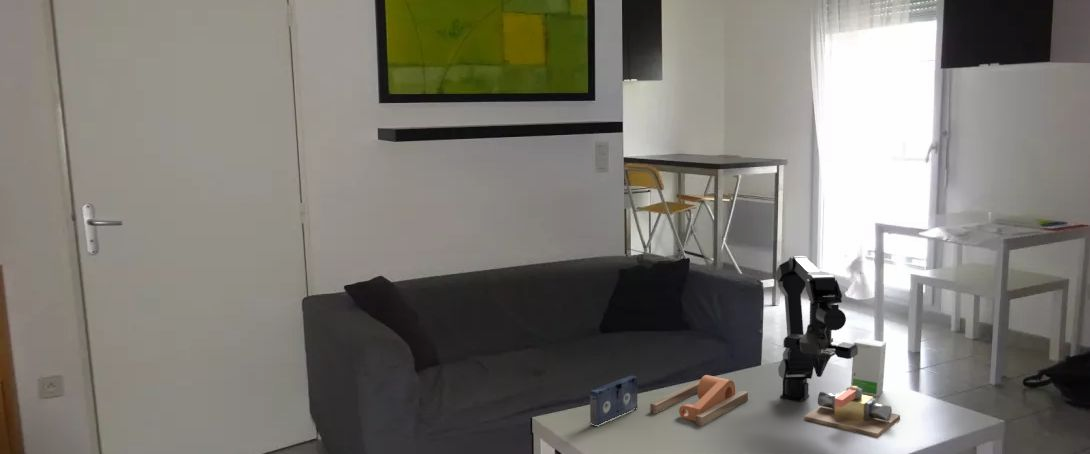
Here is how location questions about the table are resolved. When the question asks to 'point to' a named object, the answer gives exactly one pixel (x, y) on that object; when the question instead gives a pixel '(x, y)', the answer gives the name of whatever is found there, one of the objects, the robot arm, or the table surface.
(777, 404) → the table surface
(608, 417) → the vhs cassette tape
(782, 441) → the table surface
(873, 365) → the skincare box
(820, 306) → the robot arm
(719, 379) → the crank
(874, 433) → the board
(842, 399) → the lever
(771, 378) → the table surface
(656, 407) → the pair of wooden rails
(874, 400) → the valve
